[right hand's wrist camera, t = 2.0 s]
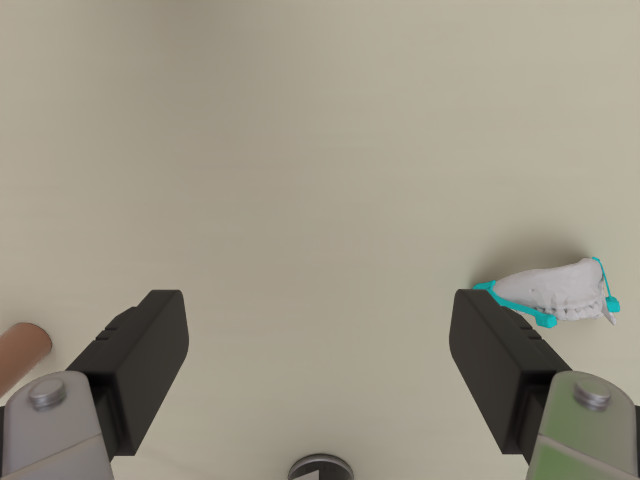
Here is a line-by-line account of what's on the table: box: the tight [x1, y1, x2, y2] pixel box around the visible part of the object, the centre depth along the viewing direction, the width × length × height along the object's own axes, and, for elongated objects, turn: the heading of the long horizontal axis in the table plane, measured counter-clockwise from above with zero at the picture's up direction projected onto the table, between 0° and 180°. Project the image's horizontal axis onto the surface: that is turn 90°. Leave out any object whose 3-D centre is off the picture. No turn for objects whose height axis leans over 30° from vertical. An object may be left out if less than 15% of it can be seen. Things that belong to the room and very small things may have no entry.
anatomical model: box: [473, 257, 620, 328], centre depth 39 cm, size 15×10×10 cm
